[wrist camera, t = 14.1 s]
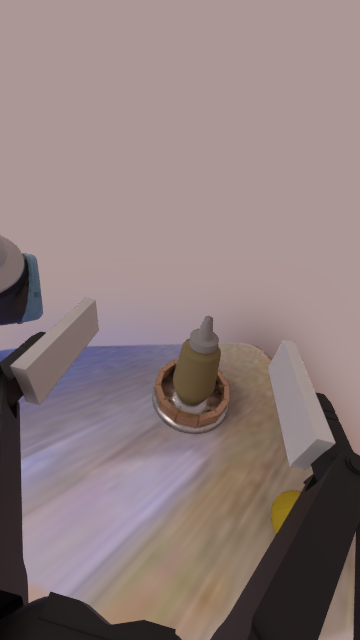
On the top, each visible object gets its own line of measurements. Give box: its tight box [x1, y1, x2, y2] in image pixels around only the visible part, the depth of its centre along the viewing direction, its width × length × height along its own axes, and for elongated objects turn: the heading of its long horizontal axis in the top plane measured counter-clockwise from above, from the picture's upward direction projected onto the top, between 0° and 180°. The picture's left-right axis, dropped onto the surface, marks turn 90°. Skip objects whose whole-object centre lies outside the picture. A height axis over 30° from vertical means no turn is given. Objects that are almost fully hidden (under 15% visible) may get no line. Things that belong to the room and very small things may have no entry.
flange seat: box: [153, 360, 230, 434], centre depth 43 cm, size 15×15×4 cm
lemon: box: [271, 490, 301, 534], centre depth 27 cm, size 6×6×8 cm
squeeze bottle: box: [173, 316, 220, 406], centre depth 38 cm, size 8×8×18 cm
